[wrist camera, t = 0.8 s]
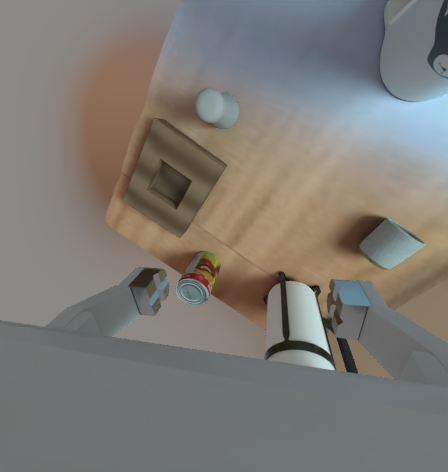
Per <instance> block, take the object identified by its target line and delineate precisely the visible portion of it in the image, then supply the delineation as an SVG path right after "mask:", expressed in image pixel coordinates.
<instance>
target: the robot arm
mask: <svg viewBox="0 0 448 472" xmlns="http://www.w3.org/2000/svg"><path fill="white" fill-rule="evenodd" d="M384 24H385V37H384V41H383V45H382V49H381V54H380V73H381V77H382V80H383V82H384V84H385V86H386V88H387V89H388V90H389V91H390V92H391V93H392V94H393V95H394V96H396V97H398V98H400V99H403V100H406V101H413V102H418V101H426V100H430V99H434V98H437V97H439V96H442V95H444V94H447V93H448V0H389V1H388V2H387V3H386V5H385V8H384ZM166 276H167V275H166V272H165V270H164V269H157V268H145V267H138V268H135V269H134V270H133V272H131V273H130V274H129V275H128V276H127V277H126V278H125V279H124V280H123V281H122V282H121V283H120V284H119V285H118V286H113V287H111V288H109V289H107V290H105V291H103V292H101V293H98V294H96V295H94V296H92V297H90V298H87V299H85V300H83V301H81V302H79V303H77V304H75V305H72V306H70V307H68V308H66V309H65V310H64V311H63V312H61V313H60V314H59V315H58V316H57V317H56V318H55V319H53V320H52V321H51V322H50V323H49V324H48V325H46V326H45V327H42V326H36V325H29V324H22V323H15V322H9V321H2V320H0V472H448V343H447V342H445V341H443V340H442V339H440V338H439V337H437V336H435V335H434V334H432V333H430V332H429V331H427V330H426V329H424V328H423V327H421V326H420V325H418V324H416V323H415V322H413V321H412V320H410V319H408V318H407V317H405V316H404V315H402V314H400V313H399V312H397V311H396V310H394V309H389V308H388V306H387V305H386V303H385V302H384V300H383V299H382V297H381V296H380V294H379V293H378V291H377V289H376V288H375V286H374V285H373V283H372V282H371V281H363V280H356V281H353V280H335V279H331V281H330V285H329V288H330V290H331V292H330V293H329V294H328V296H327V309H328V313H329V316H330V317H331V318H332V327H333V330H334V334H335V337H338V338H345V339H353V340H359V342H360V344H361V345H362V346H363V347H364V348H365V349H366V350H367V351H368V352H369V353H370V354H371V355H372V356H373V357H374V358H375V359H376V360H377V361H378V362H379V363H380V364H381V365H382V366H383V368H385V370H386V371H387V372H388V373H389V374H390V375H391V376H392V377H393V378H394V379H389V378H383V377H376V376H369V375H362V374H356V373H349V372H343V371H336V370H329V369H322V368H316V367H309V366H302V365H296V364H289V363H283V362H276V361H269V360H263V359H256V358H249V357H243V356H236V355H229V354H223V353H216V352H209V351H202V350H196V349H189V348H182V347H176V346H169V345H162V344H155V343H149V342H142V341H136V340H129V339H122V338H116V337H112V336H113V335H115V334H116V333H117V332H118V331H120V330H121V329H123V328H124V327H125V326H127V325H128V324H129V323H130V322H132V321H133V320H134V319H136V318H137V317H139V316H140V315H150V316H155V315H156V314H157V312H158V311H159V309H160V308H161V302H163V301H164V300H166V298H167V296H168V294H169V283H168V282H167V280H166V279H165V278H166Z"/></svg>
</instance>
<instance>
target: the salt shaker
mask: <svg viewBox="0 0 448 472" xmlns="http://www.w3.org/2000/svg"><path fill="white" fill-rule="evenodd" d="M195 108H196V112H197V114H198V116H199V117H200V118H201V120H203V121H205V122H207V123H212V124H213V125H214V126H215V127H217V128H219V129H228V128H230V127H231V126H233V125H234V124H235V122H236V121H237V119H238V115H239V106H238V102H237V101H236V99H235V98H234V96H232V95H230V94H229V93H227V92H226V93H220V92H219V91H217V90H215V89H213V88H208V89H204V90H202V91H201V92H199V94H198V96H197V98H196V103H195Z"/></svg>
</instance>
